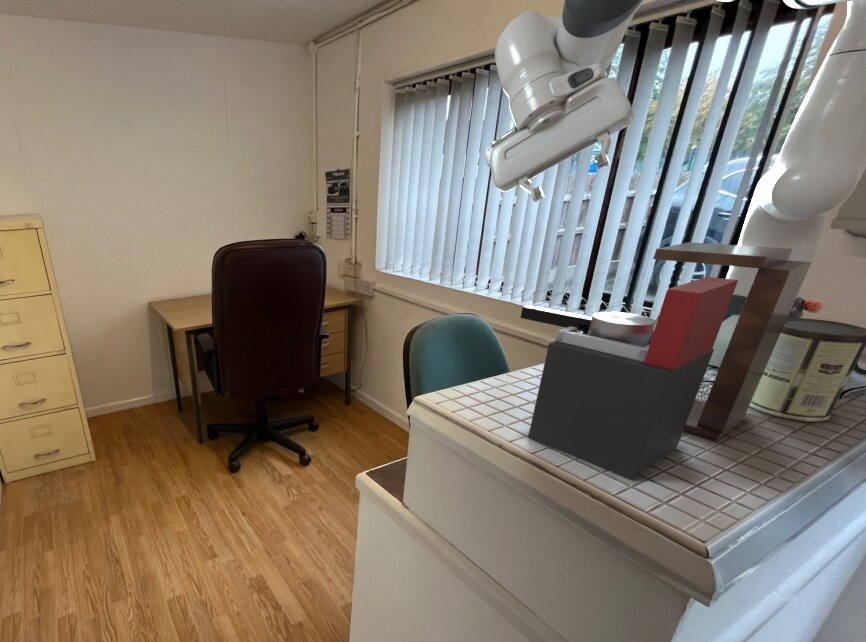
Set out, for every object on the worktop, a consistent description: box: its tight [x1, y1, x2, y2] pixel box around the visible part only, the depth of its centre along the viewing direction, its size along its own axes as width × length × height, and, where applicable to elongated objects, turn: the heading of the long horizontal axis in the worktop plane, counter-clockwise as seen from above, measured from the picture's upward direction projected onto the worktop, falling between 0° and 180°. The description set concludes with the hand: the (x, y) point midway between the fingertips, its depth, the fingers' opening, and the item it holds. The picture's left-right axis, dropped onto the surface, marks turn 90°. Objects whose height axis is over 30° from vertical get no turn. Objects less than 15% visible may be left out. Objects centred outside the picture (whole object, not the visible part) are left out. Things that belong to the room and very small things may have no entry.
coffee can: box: [749, 317, 866, 423], centre depth 73 cm, size 10×10×14 cm
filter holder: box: [520, 304, 656, 347], centre depth 66 cm, size 17×7×4 cm, turn 33°
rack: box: [652, 242, 811, 441], centre depth 71 cm, size 14×12×26 cm
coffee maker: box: [527, 276, 738, 481], centre depth 63 cm, size 14×14×24 cm
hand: (570, 183), depth 74 cm, fingers open, 8 cm apart
